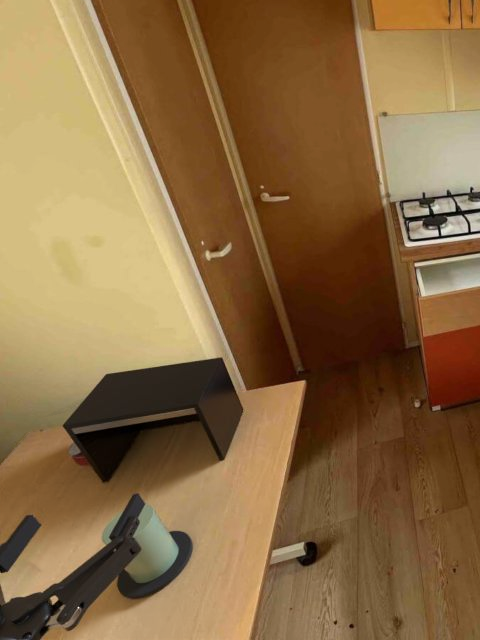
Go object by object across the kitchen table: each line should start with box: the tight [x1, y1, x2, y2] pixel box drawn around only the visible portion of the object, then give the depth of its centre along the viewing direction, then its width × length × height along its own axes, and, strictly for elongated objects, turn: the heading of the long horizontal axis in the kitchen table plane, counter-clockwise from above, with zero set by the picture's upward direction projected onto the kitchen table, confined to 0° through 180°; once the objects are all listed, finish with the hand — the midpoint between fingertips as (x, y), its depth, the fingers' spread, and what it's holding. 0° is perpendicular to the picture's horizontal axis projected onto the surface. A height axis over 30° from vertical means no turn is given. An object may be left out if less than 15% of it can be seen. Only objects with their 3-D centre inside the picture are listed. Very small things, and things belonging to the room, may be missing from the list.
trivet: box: [116, 530, 194, 600], centre depth 78 cm, size 11×11×1 cm
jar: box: [101, 503, 178, 583], centre depth 75 cm, size 7×7×12 cm
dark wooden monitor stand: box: [62, 356, 245, 484], centre depth 97 cm, size 15×24×18 cm, turn 104°
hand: (88, 509), depth 65 cm, fingers open, 13 cm apart
